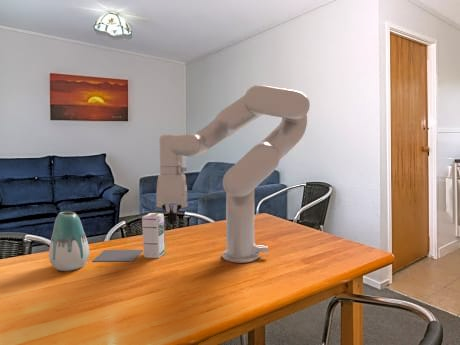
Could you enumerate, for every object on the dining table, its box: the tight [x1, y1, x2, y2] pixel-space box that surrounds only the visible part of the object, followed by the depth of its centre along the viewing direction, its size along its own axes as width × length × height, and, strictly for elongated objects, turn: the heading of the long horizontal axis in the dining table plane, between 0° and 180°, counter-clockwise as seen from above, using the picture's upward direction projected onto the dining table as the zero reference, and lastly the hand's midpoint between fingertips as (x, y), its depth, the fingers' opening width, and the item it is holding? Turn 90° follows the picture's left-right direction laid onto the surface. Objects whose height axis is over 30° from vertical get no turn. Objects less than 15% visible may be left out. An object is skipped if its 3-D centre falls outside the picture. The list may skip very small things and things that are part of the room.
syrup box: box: [141, 212, 166, 259], centre depth 117 cm, size 6×6×14 cm
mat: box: [91, 249, 144, 263], centre depth 118 cm, size 14×11×1 cm
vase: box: [48, 211, 90, 272], centre depth 107 cm, size 12×12×18 cm
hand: (172, 223), depth 117 cm, fingers closed
